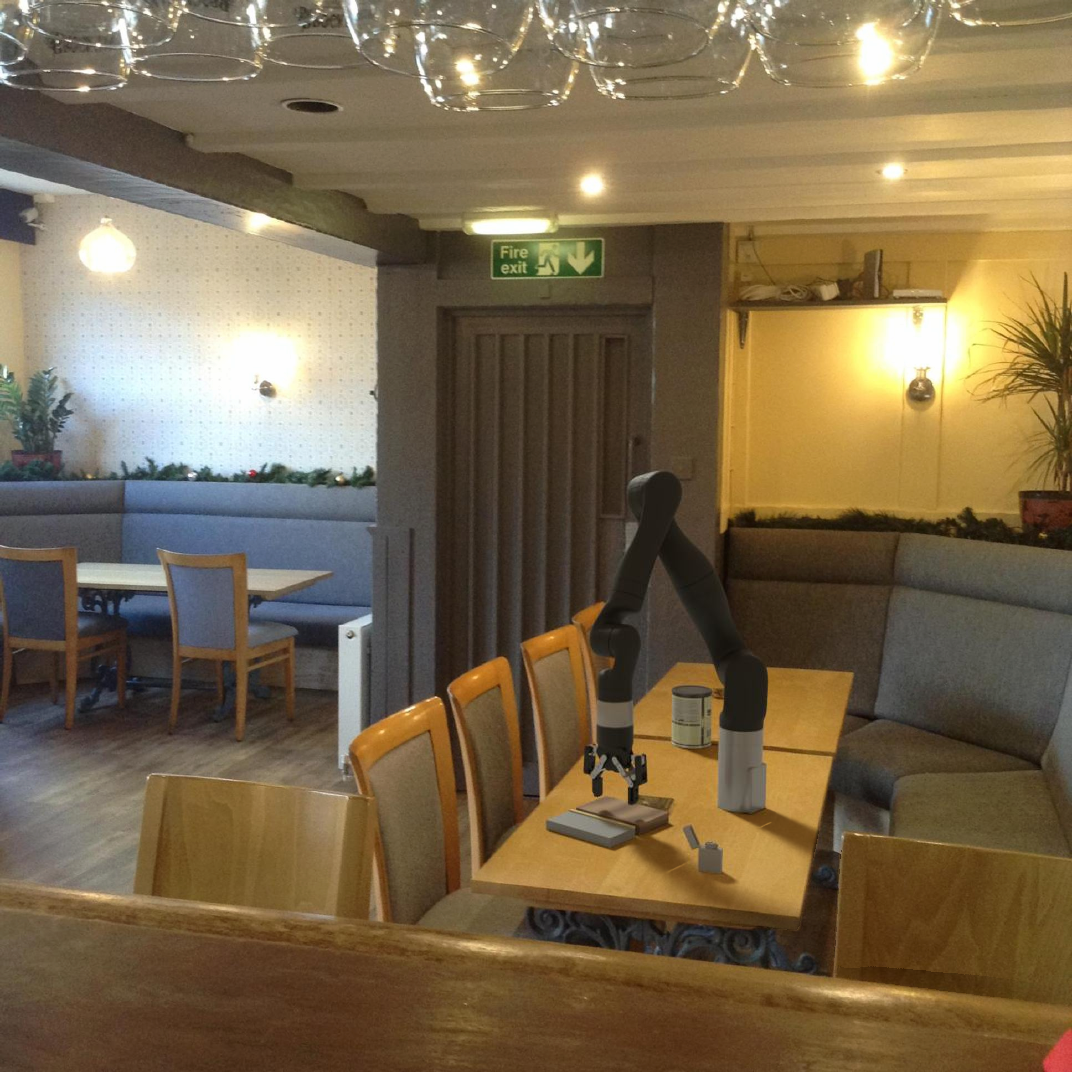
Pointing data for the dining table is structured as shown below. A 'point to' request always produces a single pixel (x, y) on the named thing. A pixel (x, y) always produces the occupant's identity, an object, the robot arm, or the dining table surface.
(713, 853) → the lighter
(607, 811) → the walnut plank
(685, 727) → the coffee can
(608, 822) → the board
